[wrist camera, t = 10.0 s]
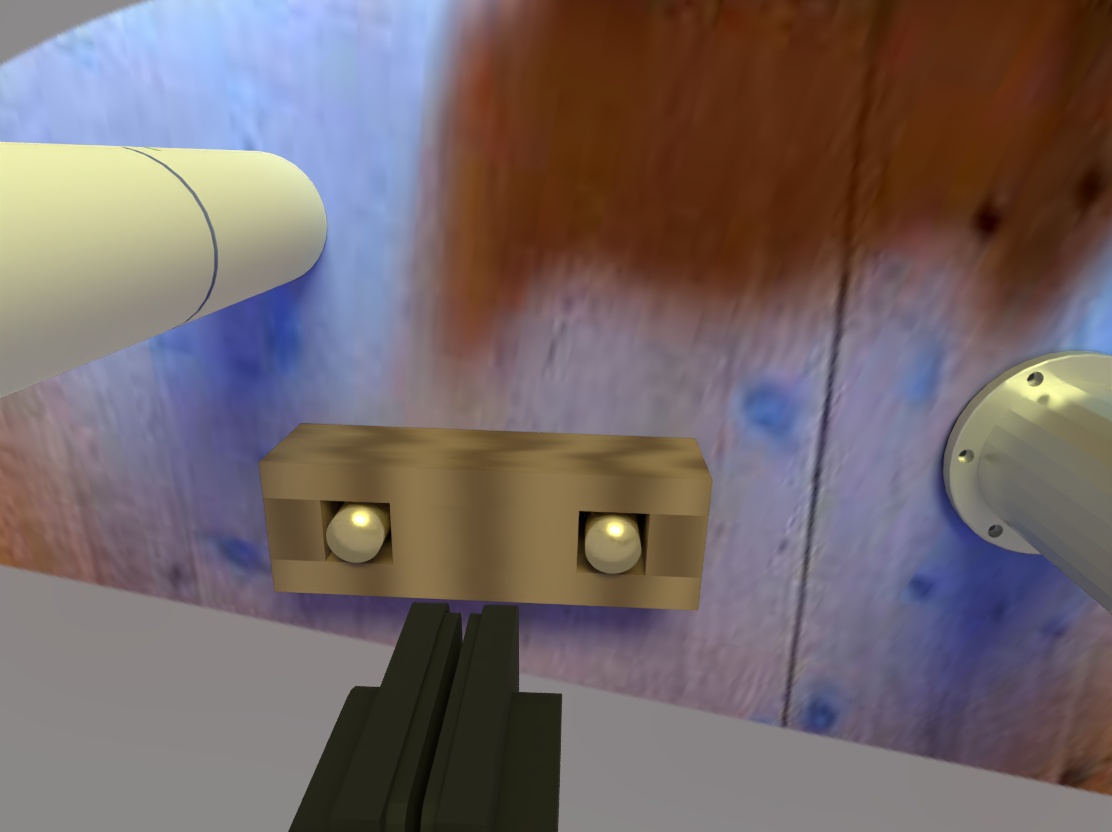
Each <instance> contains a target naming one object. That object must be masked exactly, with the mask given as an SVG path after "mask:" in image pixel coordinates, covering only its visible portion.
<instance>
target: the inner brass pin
mask: <svg viewBox="0 0 1112 832" xmlns="http://www.w3.org/2000/svg"><path fill="white" fill-rule="evenodd" d="M585 554H586V557H587V559H588V561H589V562H590V564H591V565H592V566H593V567H594V568H596V569H597V570H599V571H601V572H604V573H610V574H616V573H621V572H624V571H627V570H629V569H630V568H632V567H633V566H634V565H635V564H636V562H637V561H638V559H639V557H640V554H641V543H640V537H639V530H638V523H637V516H636V513H618V512H594V511H585Z"/></svg>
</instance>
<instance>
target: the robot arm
mask: <svg viewBox="0 0 1112 832" xmlns="http://www.w3.org/2000/svg"><path fill="white" fill-rule="evenodd" d="M943 476H944V483H945V489H946V492H947V495H948V497H949V500H950V502H951V505H952V507H953V508H954V510H955V511H956V513H957V514H958V515H959V517H960V518H961V520H962V521H963V522H965V523H966V524H967V525H968V526H969V527H970V528H971V529H972V530H973V531H974V532H975V533H976V534H977V535H979V536H980V537H982V538H983V539H984V540H986V541H987V542H989V543H991V544H994V545H996V546H998V547H1001V548H1003V549H1005V550H1009V551H1014V552H1018V553H1023V554H1040V555H1043V556H1044V557H1045V558H1046V559H1048V560H1049V561H1050V562H1051V563H1052V564H1053V565H1055V566H1056V567H1057V568H1058V569H1059V570H1060V571H1062V572H1063V573H1064V574H1065V575H1066V576H1067V577H1069V578H1070V579H1071V580H1072V581H1073V582H1074V583H1076V584H1077V585H1078V586H1079V587H1080V588H1081V589H1083V590H1084V591H1085V592H1086V593H1087V594H1089V595H1090V596H1091V597H1092V598H1093V599H1094V600H1096V601H1097V602H1098V603H1099V604H1100V605H1101V606H1103V607H1104V608H1105V609H1106V610H1107V611H1108V612H1110V613H1111V614H1112V355H1107V354H1103V353H1099V352H1094V351H1072V350H1071V351H1064V352H1057V353H1050V354H1046V355H1043V356H1040V357H1037V358H1034V359H1031V360H1027V361H1025V362H1023V363H1021V364H1019V365H1017V366H1015V367H1013V368H1011V369H1009V370H1007V371H1006V372H1004V373H1003V374H1001V375H1000V376H999V377H997V378H996V379H994V380H993V381H992V382H990V383H989V384H987V385H986V386H985V387H984V388H983V389H982V390H981V391H980V392H979V393H978V394H977V395H976V396H975V397H974V398H973V399H972V400H971V401H970V403H969V404H968V405H967V407H966V408H965V409H964V411H963V412H962V414H961V415H960V416H959V418H958V420H957V422H956V424H955V426H954V428H953V430H952V432H951V434H950V436H949V439H948V443H947V447H946V450H945V454H944V466H943ZM561 715H562V694H555V693H529V692H528V693H527V692H519V608H518V606H512V605H484V607H483V610H482V614H474V613H471V614H470V616H469V620H468V624H467V628H466V632H465V636H464V640H463V642H462V617H461V614H460V613H450V608H449V605H448V603H423V602H414V603H413V604H412V606H411V608H410V611H409V613H408V616H407V618H406V621H405V624H404V626H403V629H402V631H401V634H400V637H399V639H398V642H397V644H396V647H395V650H394V652H393V655H392V658H391V660H390V663H389V666H388V668H387V671H386V673H385V676H384V678H383V681H382V684H381V686H380V687H365V686H355V687H354V688H353V689H352V690H351V691H350V693H349V695H348V697H347V699H346V701H345V704H344V706H343V708H342V710H341V713H340V715H339V717H338V719H337V722H336V724H335V726H334V729H333V731H332V733H331V736H330V738H329V740H328V742H327V745H326V747H325V749H324V752H323V754H322V756H321V758H320V761H319V763H318V765H317V768H316V770H315V772H314V774H313V777H312V779H311V781H310V783H309V786H308V788H307V790H306V793H305V795H304V797H303V799H302V802H301V804H300V806H299V808H298V811H297V813H296V815H295V818H294V820H293V823H292V824H291V827H290V829H289V831H288V832H558V816H559V787H560V755H561Z"/></svg>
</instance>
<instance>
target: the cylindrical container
mask: <svg viewBox="0 0 1112 832" xmlns="http://www.w3.org/2000/svg"><path fill="white" fill-rule="evenodd" d="M326 235H327V220H326V213H325V209H324V206H323V203H322V200H321V197H320V195H319V193H318V192H317V190H316V188H315V186H314V184H313V183H312V182H311V181H310V180H309V178H308V177H307V176H306V175H305V173H303V172H302V171H301V170H300V169H299V168H298V167H296V166H295V165H294V164H292V163H291V162H289V161H287V160H286V159H284V158H282V157H279V156H277V155H274V154H271V153H266V152H260V151H237V150H208V149H179V148H150V147H121V146H95V145H68V144H41V143H15V142H0V398H2V397H5V396H7V395H10V394H12V393H15V392H17V391H19V390H22V389H24V388H27V387H29V386H32V385H34V384H37V383H39V382H42V381H44V380H47V379H49V378H52V377H54V376H57V375H59V374H62V373H64V372H67V371H69V370H72V369H74V368H77V367H79V366H82V365H84V364H87V363H89V362H92V361H94V360H96V359H99V358H101V357H104V356H106V355H109V354H111V353H114V352H116V351H119V350H121V349H124V348H126V347H129V346H131V345H134V344H136V343H139V342H141V341H144V340H146V339H149V338H151V337H154V336H156V335H159V334H161V333H164V332H166V331H169V330H171V329H174V328H176V327H179V326H181V325H183V324H186V323H188V322H191V321H193V320H196V319H198V318H201V317H203V316H206V315H208V314H211V313H213V312H216V311H218V310H221V309H223V308H226V307H228V306H231V305H233V304H236V303H238V302H241V301H243V300H245V299H248V298H250V297H253V296H255V295H258V294H260V293H263V292H265V291H268V290H270V289H273V288H275V287H278V286H280V285H283V284H285V283H288V282H290V281H293V280H295V279H297V278H298V277H300V276H302V275H304V274H305V273H306V272H307V271H308V270H310V269H311V268H312V267H313V265H314V264H315V263H316V261H317V260H318V259H319V257H320V255H321V253H322V250H323V248H324V245H325V240H326Z"/></svg>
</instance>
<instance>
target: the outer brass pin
mask: <svg viewBox="0 0 1112 832" xmlns="http://www.w3.org/2000/svg"><path fill="white" fill-rule="evenodd" d="M390 529H391V517H390V503H375V502H351V501H345V503H344V504H343V505H342V507H341V508H340V510H339V511H338V513H337V514H336V515H335V517H334V518H333V520H332V521H331V522H330V524H329V526H328V528H327V531H326V539H327V543H328V545H329V547H330V549H331V550H332V552H333V553H334V554H335V555H337V556H338V557H339V558H341V559H343V560H345V561H348V562H353V563H360V562H365V561H368V560H370V559H372V558H373V557H374V556H375V555H376V554H377V553H378V551H379V549H380V548H381V546H382V544H383V542H384V540H385V538H386V536H387V534H388V532H389V531H390Z"/></svg>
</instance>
